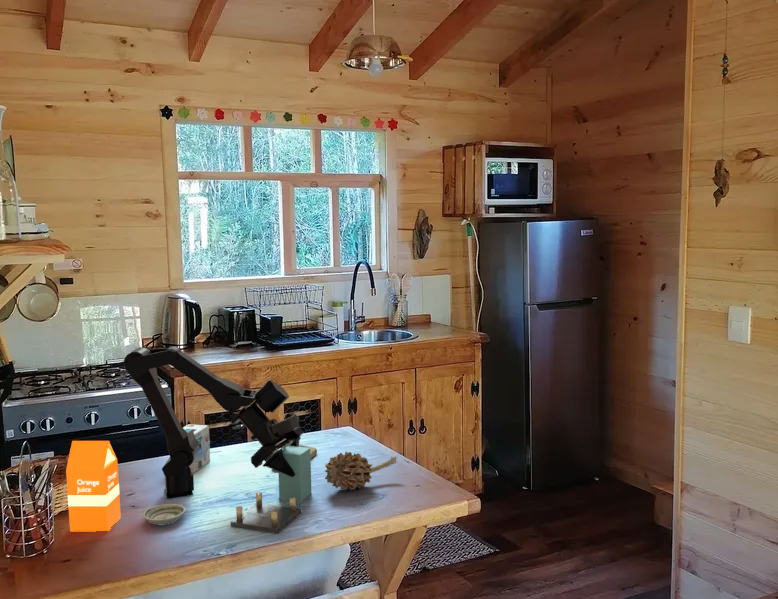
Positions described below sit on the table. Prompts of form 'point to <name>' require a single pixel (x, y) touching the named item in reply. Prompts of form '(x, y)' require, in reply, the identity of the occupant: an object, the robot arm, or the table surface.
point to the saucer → (164, 513)
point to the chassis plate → (266, 516)
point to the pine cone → (351, 470)
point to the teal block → (296, 474)
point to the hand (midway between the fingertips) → (299, 471)
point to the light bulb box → (200, 445)
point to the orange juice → (92, 486)
